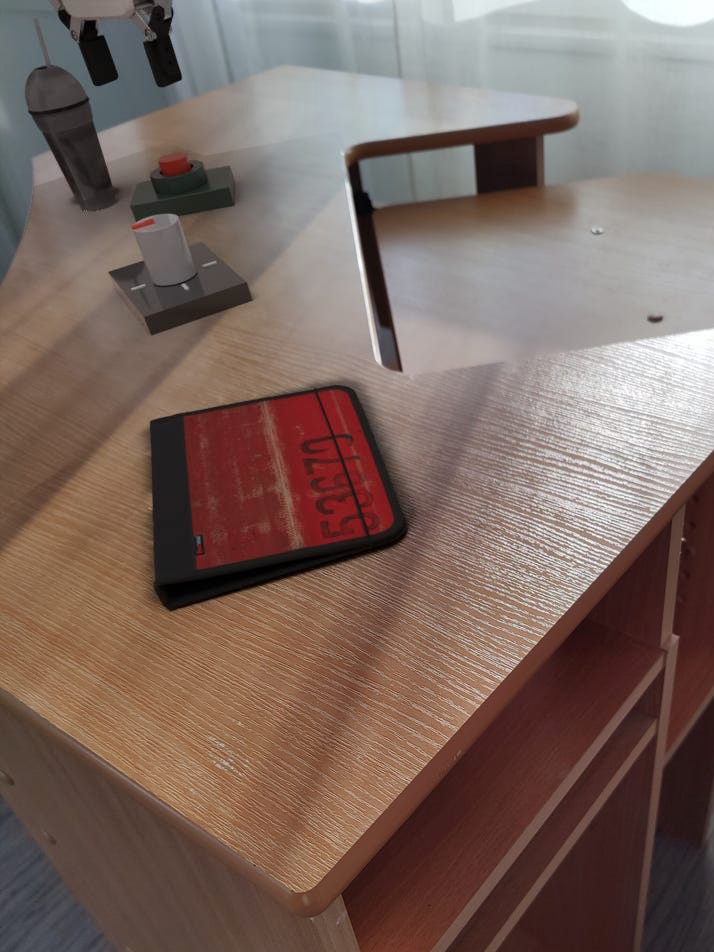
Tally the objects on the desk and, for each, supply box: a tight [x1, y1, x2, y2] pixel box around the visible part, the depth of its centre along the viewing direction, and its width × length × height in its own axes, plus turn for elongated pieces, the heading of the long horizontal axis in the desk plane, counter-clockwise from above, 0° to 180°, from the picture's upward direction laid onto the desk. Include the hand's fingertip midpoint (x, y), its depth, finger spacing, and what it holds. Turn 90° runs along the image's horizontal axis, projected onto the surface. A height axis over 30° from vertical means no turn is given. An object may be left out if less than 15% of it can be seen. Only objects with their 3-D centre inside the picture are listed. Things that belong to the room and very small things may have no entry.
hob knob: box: [130, 214, 197, 286], centre depth 82 cm, size 4×4×5 cm
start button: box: [157, 151, 192, 175], centre depth 106 cm, size 4×4×2 cm
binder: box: [149, 384, 408, 610], centre depth 61 cm, size 16×2×21 cm
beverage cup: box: [24, 17, 117, 212], centre depth 106 cm, size 7×7×20 cm
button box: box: [129, 159, 236, 223], centre depth 108 cm, size 12×9×4 cm
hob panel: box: [107, 241, 254, 337], centre depth 85 cm, size 14×10×3 cm
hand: (138, 83), depth 92 cm, fingers open, 9 cm apart
